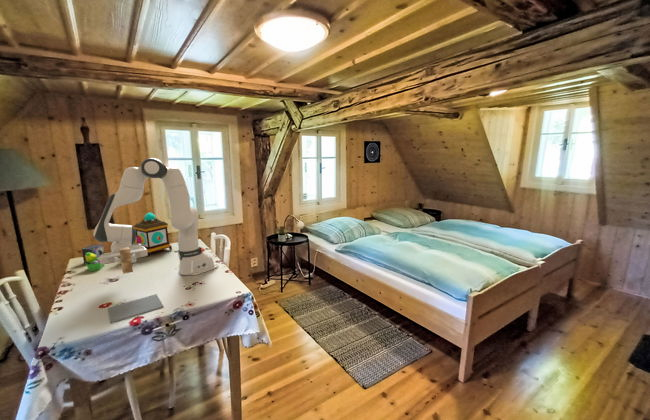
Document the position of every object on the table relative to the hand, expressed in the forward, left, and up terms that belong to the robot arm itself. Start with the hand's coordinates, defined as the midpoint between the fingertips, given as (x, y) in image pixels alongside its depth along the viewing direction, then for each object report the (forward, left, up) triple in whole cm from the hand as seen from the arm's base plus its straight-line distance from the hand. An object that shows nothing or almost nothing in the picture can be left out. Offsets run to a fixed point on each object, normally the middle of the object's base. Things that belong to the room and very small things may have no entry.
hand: (126, 259), depth 143 cm
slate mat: (0, +15, -20) cm, 25 cm away
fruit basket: (+12, -62, -20) cm, 66 cm away
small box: (+12, -80, -20) cm, 83 cm away
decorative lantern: (-23, -73, -20) cm, 79 cm away
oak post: (0, -1, -7) cm, 7 cm away
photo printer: (-5, -60, -20) cm, 63 cm away
